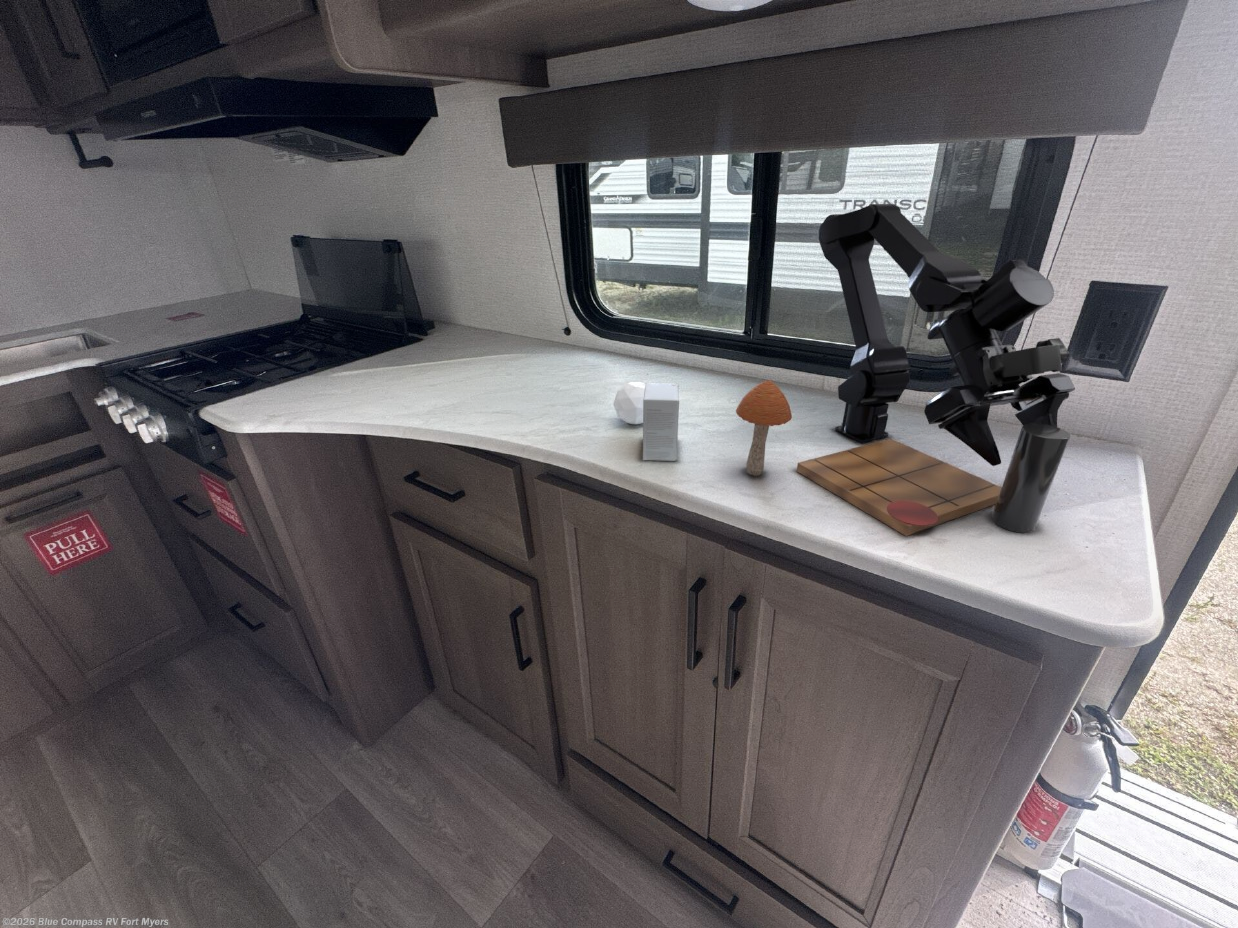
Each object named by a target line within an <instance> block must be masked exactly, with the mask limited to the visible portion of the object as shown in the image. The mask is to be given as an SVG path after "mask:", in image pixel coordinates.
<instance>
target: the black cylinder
mask: <svg viewBox="0 0 1238 928" xmlns="http://www.w3.org/2000/svg"><path fill="white" fill-rule="evenodd" d="M1070 438H1071V434H1070V433H1069V432H1068V431H1067V430H1065V429H1063V428H1060V427H1058V426H1057V427H1054V426H1050V425H1045V424H1035V423H1032V424H1025V425H1022V426H1021V429H1020V432H1019V435H1018V438H1017V441H1016V444H1015V446H1014V450H1013V453H1012V455H1011V459H1010V462H1009V464H1008V468H1007V470H1006V473H1005V476H1004V479H1003V481H1002V484H1001V487H1002V488H1001V491H1000V494H999V497H998V500H997V503H996V504H995V506H994V509H993V513H992V515H991V520H992V521H993V523H994V524H995V525H997V526H998V527H1001V528H1002V529H1005V530H1008V531H1011V532H1014V533H1022V534H1028V533H1032V532H1034V531H1035V530H1036V528H1037V525H1038V523H1039V520H1040V518H1041V515H1042V512H1043V509H1044V506H1045V504H1046V501H1047V499H1048V497H1049V493H1050V492H1051V490H1052V489H1051V488H1052V485H1053V483H1054V480H1055V478H1056V475H1057V474H1058V473H1057V472H1058V470H1059V467H1060V465H1061V463H1062V459H1063V457H1064V454H1065V452H1066V450H1067V447H1068V443H1069V441H1070Z"/></svg>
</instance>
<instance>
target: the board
mask: <svg viewBox="0 0 1238 928" xmlns="http://www.w3.org/2000/svg"><path fill="white" fill-rule="evenodd" d="M796 472H797V473H798V474H800V475H802V476H804V477H806V478H807V479H808V480H810V481H812V482H813V483H815V484H817V485H819V486H820V487H822V488H823V489H825V490H827V491H829V492H830V493H832V494H834V495H836V496H837V497H839V498H841V499H842V500H844V501H846V502H848V503H849V504H851V505H852V506H854V507H856V508H857V509H859V510H861V511H863V512H864V513H866V514H868V515H869V516H871V517H873V518H874V519H877V520H878V521H879V522H881V523H882V524H884V525H886V526H888V527H890V528H891V529H892V530H894V531H896V532H898V533H900V534H902V535H903V536H905V537H909V536H910V535H913V534H916V533H920V532H922V531H925V530H928V529H931V528H933V527H935V526H938V525H941V524H944V523H947V522H950V521H952V520H955V519H958V518H961V517H963V516H967V515H970V514H971V513H974V512H977V511H980V510H983V509H985V508H986V509H987V508H989V507H991V506H993V505H996V503H997V500H998V497H999V494H1000V491H1001V488H1002V486H1000V485H997V484H995V483H993V482H991V481H989V480H986V479H984V478H982V477H980V476H977V475H974V474H973V473H970V472H968V471H966V470H963V469H961V468H959V467H956V466H954V465H952V464H949V463H947V462H945V461H944V460H941V459H938V458H936V457H934V456H932V455H929V454H927V453H925V452H923V451H920V450H918V449H916V448H913V447H911V446H909V445H906V444H904V443H901V442H900V441H897V440H896V439H893V438H888V439H883V440H879V441H875V442H872V443H868V444H864V445H861V446H857V447H853V448H848V449H845V450H841V451H837V452H834V453H829V454H825V455H822V456H818V457H815V458H811V459H807V460H803V461H798V462H797V465H796Z"/></svg>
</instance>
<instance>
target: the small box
mask: <svg viewBox="0 0 1238 928" xmlns="http://www.w3.org/2000/svg"><path fill="white" fill-rule="evenodd" d="M679 415H680V384H679V383H662V382H661V383H659V382H658V383H657V382H656V383H654V382H646V383H645V392H644V400H643V423H642V460H643V461H662V462H676V461H677V459H678V458H677V457H678V440H679V439H678V438H679V437H678V436H679V418H680V416H679Z"/></svg>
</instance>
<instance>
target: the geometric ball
mask: <svg viewBox="0 0 1238 928" xmlns="http://www.w3.org/2000/svg"><path fill="white" fill-rule="evenodd" d="M645 385H646V383H645V384H644V382H627V383H626V384H624V385H623V386H621V388H619V389H618V390H616V392H615V397H614V399H613V407H614V410H615V413H616V415H617V417H618V418H619V419H621V420H622V421H624V422H625V423H627V425H641V424H642V425H643V400H644V392H645Z"/></svg>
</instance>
